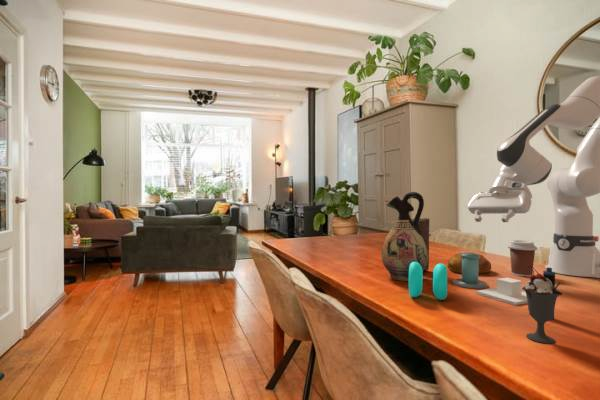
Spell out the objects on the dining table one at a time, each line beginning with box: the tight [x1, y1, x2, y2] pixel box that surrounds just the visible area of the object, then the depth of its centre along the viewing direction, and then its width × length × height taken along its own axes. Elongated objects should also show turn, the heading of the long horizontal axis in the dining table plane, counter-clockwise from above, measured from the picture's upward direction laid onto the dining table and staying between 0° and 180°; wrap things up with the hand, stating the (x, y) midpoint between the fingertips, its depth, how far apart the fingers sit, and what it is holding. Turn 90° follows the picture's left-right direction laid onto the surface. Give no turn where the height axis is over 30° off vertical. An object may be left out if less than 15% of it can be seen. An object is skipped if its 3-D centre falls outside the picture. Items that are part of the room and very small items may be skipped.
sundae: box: [522, 265, 563, 345], centre depth 73 cm, size 7×7×15 cm
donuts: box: [408, 262, 448, 301], centre depth 101 cm, size 10×10×10 cm
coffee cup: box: [507, 239, 538, 278], centre depth 129 cm, size 9×9×12 cm
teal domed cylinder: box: [461, 252, 481, 284], centre depth 115 cm, size 5×5×9 cm
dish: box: [452, 277, 488, 290], centre depth 116 cm, size 10×10×1 cm
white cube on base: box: [475, 277, 528, 306], centre depth 102 cm, size 12×12×5 cm
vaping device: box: [542, 268, 556, 320], centre depth 86 cm, size 3×5×12 cm, turn 27°
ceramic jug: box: [381, 191, 428, 282], centre depth 123 cm, size 17×15×30 cm
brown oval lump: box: [447, 251, 492, 274], centre depth 136 cm, size 14×16×8 cm
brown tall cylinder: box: [411, 217, 430, 272], centre depth 135 cm, size 8×7×20 cm
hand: (490, 220), depth 123 cm, fingers open, 8 cm apart
